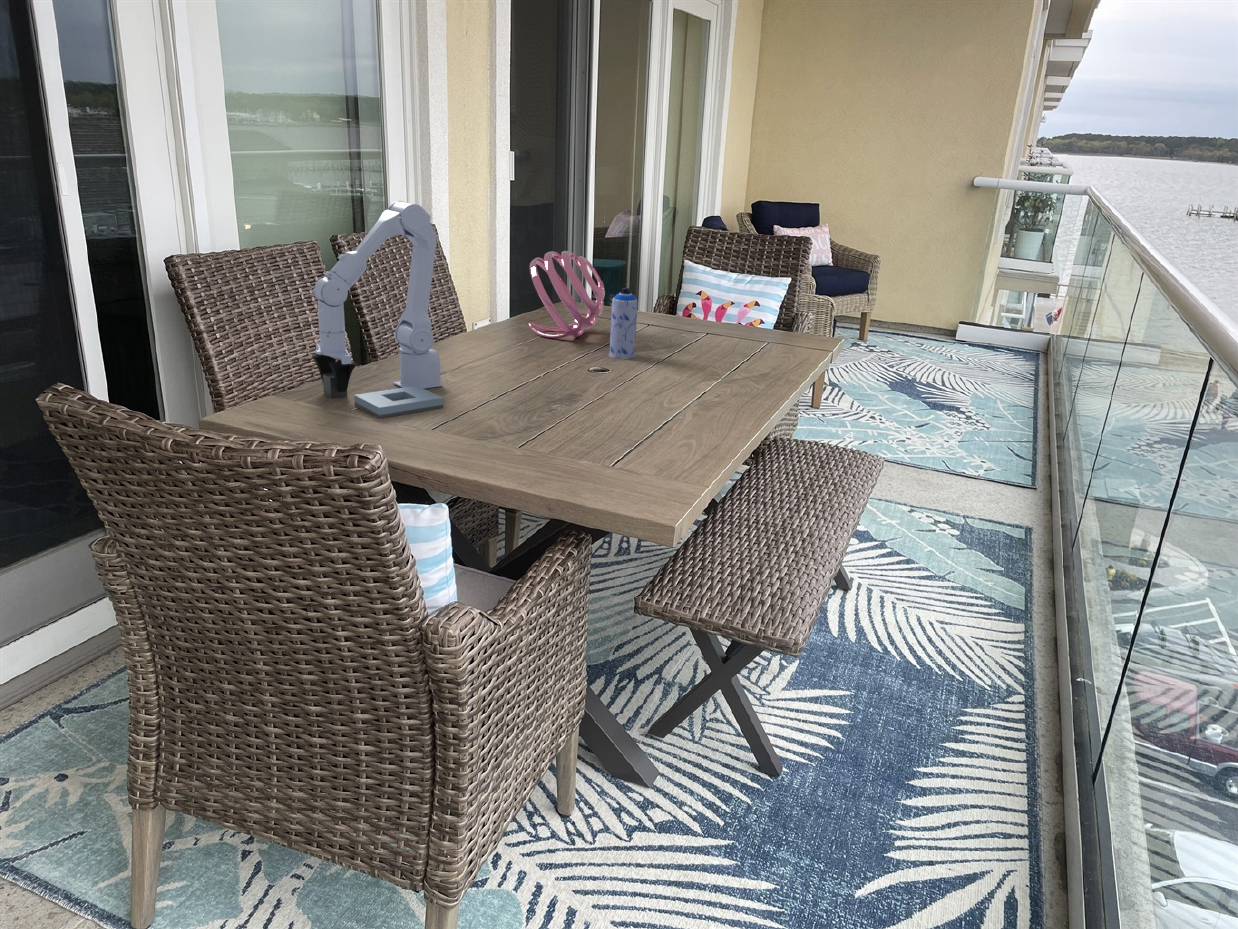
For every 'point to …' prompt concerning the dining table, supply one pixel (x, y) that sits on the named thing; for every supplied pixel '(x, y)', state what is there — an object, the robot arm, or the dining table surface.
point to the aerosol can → (623, 325)
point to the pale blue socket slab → (398, 401)
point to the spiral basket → (568, 294)
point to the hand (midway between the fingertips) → (335, 387)
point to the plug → (331, 386)
